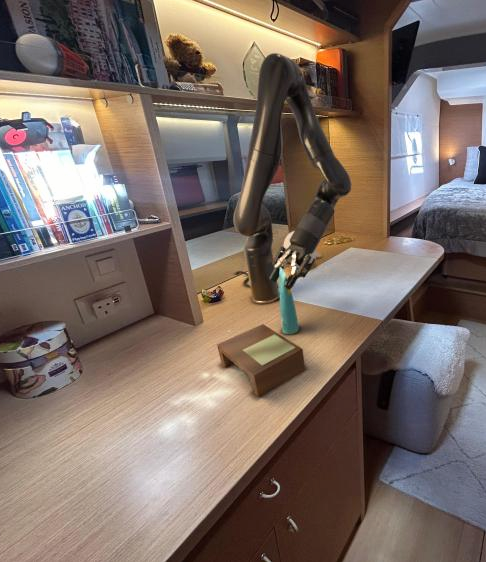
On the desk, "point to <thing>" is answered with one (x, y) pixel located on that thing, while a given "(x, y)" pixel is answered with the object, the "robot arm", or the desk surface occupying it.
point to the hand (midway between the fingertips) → (279, 284)
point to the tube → (287, 306)
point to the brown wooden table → (263, 357)
